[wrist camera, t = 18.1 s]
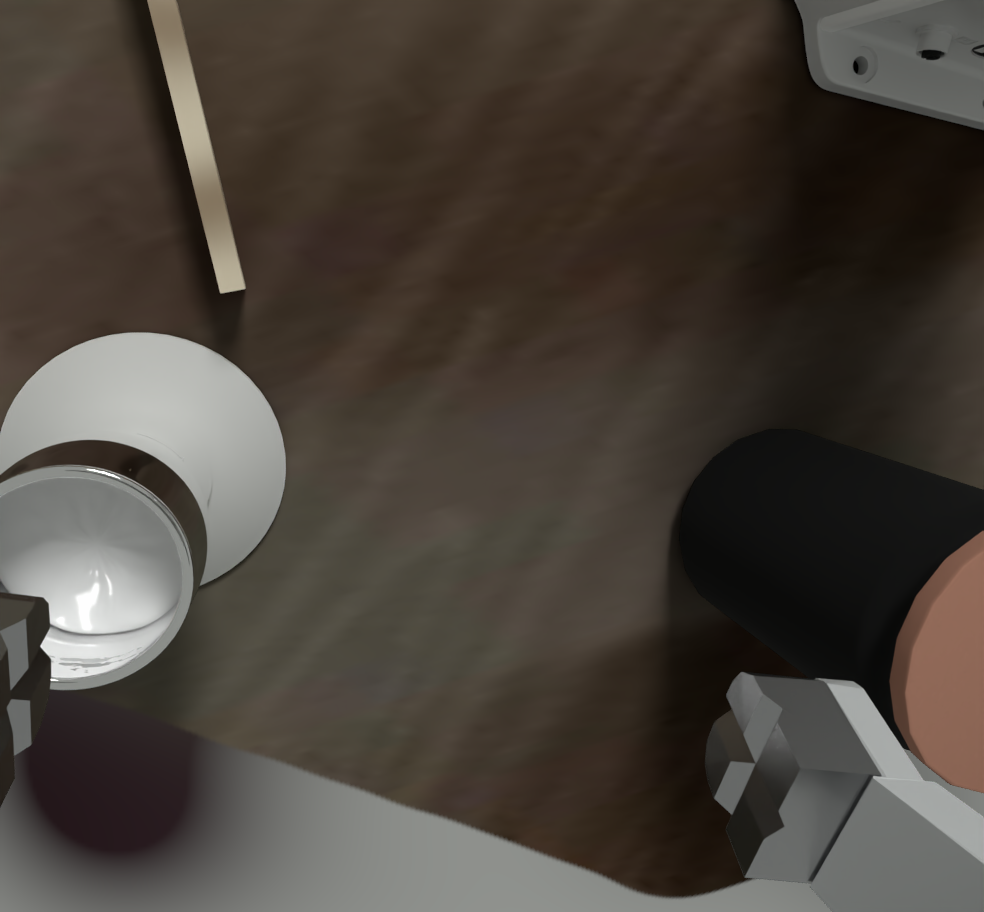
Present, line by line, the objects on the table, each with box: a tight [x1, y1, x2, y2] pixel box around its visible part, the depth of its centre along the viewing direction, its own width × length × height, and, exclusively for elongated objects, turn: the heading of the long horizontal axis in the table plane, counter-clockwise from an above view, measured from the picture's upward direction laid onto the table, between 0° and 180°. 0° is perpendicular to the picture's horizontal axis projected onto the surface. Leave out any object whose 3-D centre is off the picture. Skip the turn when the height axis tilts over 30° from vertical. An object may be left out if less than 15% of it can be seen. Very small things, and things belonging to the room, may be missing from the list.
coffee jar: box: [679, 429, 984, 793], centre depth 40 cm, size 11×11×18 cm
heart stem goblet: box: [0, 410, 212, 690], centre depth 32 cm, size 7×7×15 cm
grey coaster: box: [0, 332, 286, 585], centre depth 39 cm, size 12×12×1 cm
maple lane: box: [147, 0, 246, 294], centre depth 32 cm, size 21×12×6 cm, turn 10°
